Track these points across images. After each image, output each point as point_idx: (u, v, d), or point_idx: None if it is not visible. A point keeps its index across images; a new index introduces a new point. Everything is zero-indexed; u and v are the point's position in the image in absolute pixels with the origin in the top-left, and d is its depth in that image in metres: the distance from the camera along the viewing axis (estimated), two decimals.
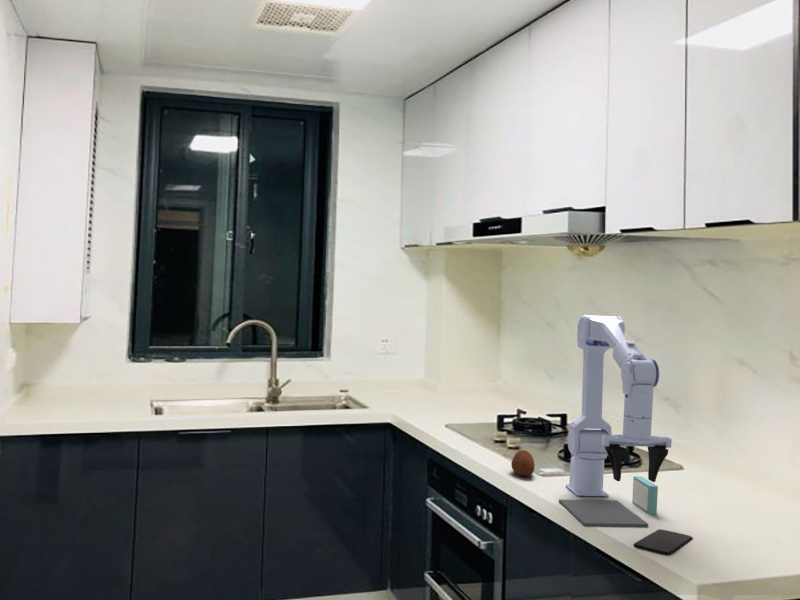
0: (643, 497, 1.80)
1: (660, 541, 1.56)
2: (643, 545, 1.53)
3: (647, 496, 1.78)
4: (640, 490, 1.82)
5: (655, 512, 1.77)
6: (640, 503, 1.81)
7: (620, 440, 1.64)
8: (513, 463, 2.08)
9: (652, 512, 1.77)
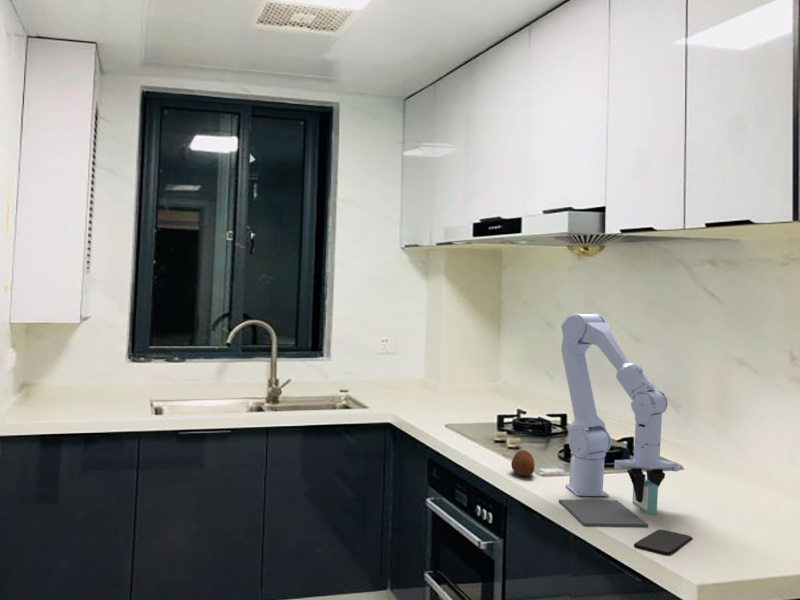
0: (643, 497, 1.80)
1: (660, 541, 1.56)
2: (643, 545, 1.53)
3: (647, 496, 1.78)
4: None
5: (655, 512, 1.77)
6: (640, 502, 1.81)
7: (631, 465, 1.79)
8: (513, 463, 2.08)
9: (652, 512, 1.77)
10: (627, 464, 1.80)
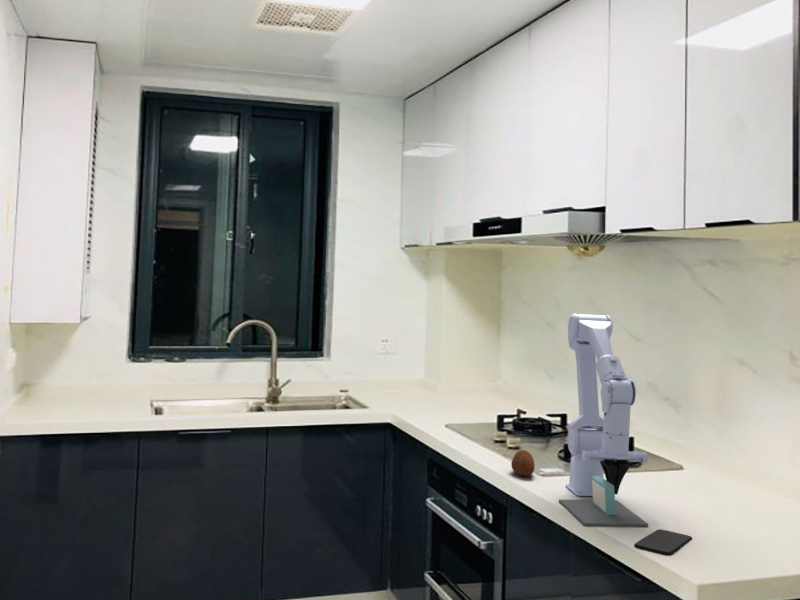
0: (601, 498, 1.75)
1: (660, 541, 1.56)
2: (643, 545, 1.53)
3: (604, 497, 1.73)
4: (598, 491, 1.77)
5: (614, 512, 1.72)
6: (599, 504, 1.76)
7: (599, 456, 1.74)
8: (513, 463, 2.08)
9: (611, 513, 1.72)
10: (595, 455, 1.75)
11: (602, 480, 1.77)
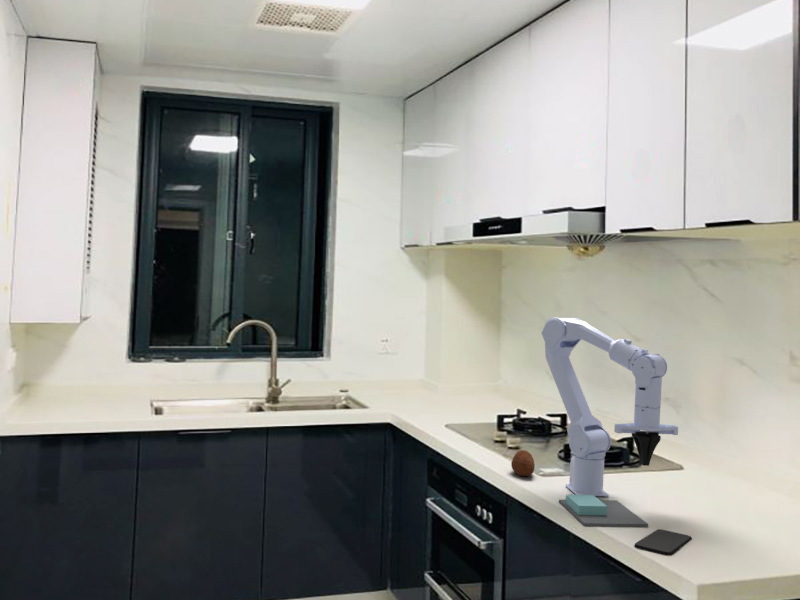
0: None
1: (660, 541, 1.56)
2: (644, 545, 1.53)
3: None
4: None
5: (605, 507, 1.72)
6: None
7: (631, 428, 1.80)
8: (513, 463, 2.08)
9: (605, 510, 1.72)
10: (627, 427, 1.80)
11: (571, 503, 1.77)
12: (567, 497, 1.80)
